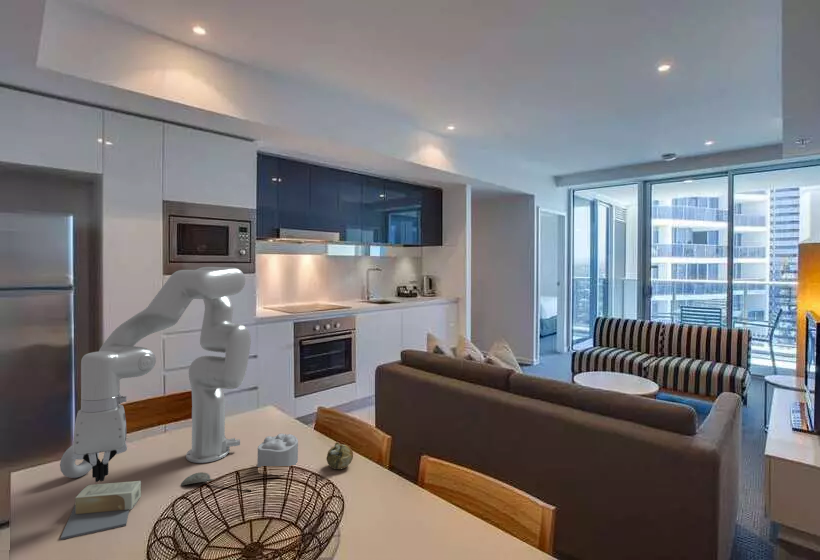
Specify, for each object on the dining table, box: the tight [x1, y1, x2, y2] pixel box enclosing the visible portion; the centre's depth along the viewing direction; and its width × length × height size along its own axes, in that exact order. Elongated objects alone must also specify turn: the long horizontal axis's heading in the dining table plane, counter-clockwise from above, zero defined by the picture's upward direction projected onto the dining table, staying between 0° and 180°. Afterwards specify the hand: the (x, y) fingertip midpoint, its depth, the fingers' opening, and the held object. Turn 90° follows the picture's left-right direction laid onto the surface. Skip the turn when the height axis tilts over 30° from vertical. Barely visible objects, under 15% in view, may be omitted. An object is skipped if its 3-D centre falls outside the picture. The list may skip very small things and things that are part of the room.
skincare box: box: [74, 480, 142, 514], centre depth 107 cm, size 6×4×12 cm
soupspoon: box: [180, 471, 214, 486], centre depth 119 cm, size 22×3×7 cm
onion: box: [326, 441, 354, 470], centre depth 131 cm, size 8×8×8 cm
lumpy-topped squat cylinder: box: [256, 433, 299, 467], centre depth 132 cm, size 10×13×9 cm
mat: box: [60, 505, 130, 541], centre depth 104 cm, size 12×16×1 cm
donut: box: [59, 444, 100, 479], centre depth 122 cm, size 10×4×10 cm, turn 161°
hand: (100, 479), depth 104 cm, fingers closed
